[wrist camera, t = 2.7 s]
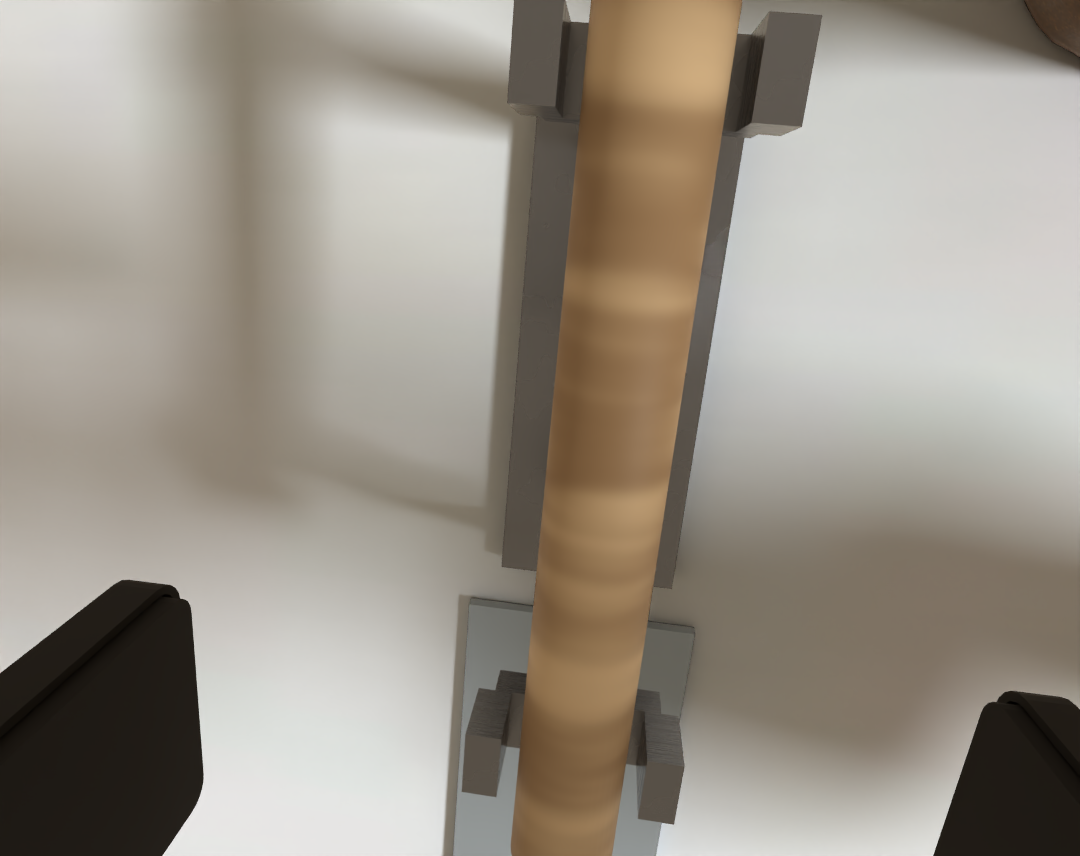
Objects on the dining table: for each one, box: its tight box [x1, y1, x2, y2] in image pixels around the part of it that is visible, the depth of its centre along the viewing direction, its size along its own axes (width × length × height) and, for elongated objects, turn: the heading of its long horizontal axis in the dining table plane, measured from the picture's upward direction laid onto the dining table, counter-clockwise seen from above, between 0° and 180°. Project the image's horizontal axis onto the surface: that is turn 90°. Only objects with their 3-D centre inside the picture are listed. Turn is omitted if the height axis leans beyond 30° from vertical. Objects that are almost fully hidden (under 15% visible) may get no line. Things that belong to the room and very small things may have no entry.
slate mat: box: [453, 598, 695, 856], centre depth 39 cm, size 11×25×1 cm, turn 175°
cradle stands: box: [462, 0, 822, 824], centre depth 24 cm, size 8×21×15 cm, turn 175°
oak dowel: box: [511, 0, 742, 856], centre depth 18 cm, size 24×3×3 cm, turn 175°
